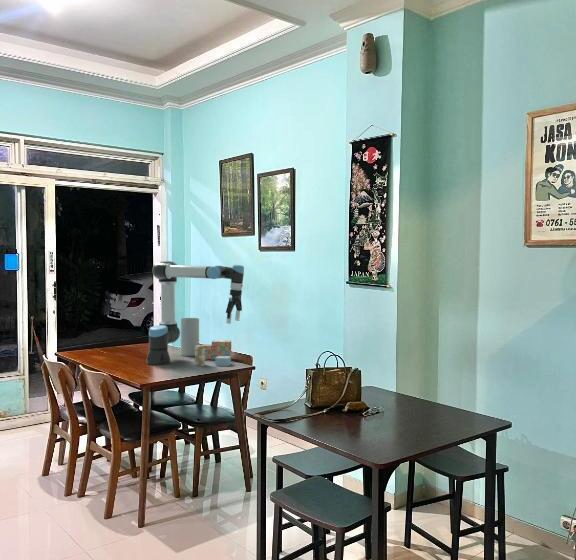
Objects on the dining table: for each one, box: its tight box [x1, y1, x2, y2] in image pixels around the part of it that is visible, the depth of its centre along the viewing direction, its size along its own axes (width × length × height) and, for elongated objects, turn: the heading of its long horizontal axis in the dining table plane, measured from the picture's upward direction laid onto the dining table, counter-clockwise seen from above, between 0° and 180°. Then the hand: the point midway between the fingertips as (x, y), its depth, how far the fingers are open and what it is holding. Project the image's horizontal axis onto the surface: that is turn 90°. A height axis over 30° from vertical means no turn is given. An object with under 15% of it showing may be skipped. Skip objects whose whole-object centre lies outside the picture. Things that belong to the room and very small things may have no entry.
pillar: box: [194, 344, 206, 367], centre depth 363 cm, size 5×5×12 cm
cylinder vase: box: [180, 317, 200, 357], centre depth 400 cm, size 12×12×25 cm
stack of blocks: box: [199, 339, 232, 361], centre depth 385 cm, size 21×6×12 cm, turn 84°
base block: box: [214, 355, 232, 367], centre depth 364 cm, size 8×8×5 cm
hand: (232, 322), depth 370 cm, fingers open, 13 cm apart
